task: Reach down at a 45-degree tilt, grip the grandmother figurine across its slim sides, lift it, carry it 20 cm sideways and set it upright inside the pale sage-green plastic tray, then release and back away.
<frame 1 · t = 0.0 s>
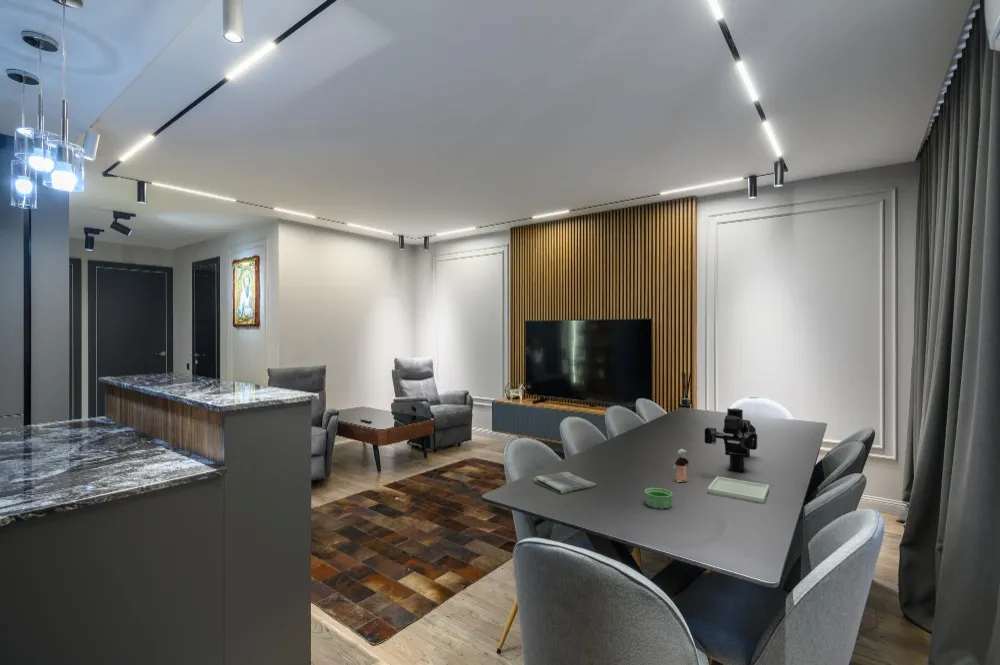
hand: (726, 442, 183), 17 cm above the table, tool horizontal, fingers open, 9 cm apart
dish towel: (563, 485, 183), on the table
grandmother figurine: (681, 481, 187), on the table
ramekin: (658, 505, 162), on the table
sage tray: (738, 491, 176), on the table
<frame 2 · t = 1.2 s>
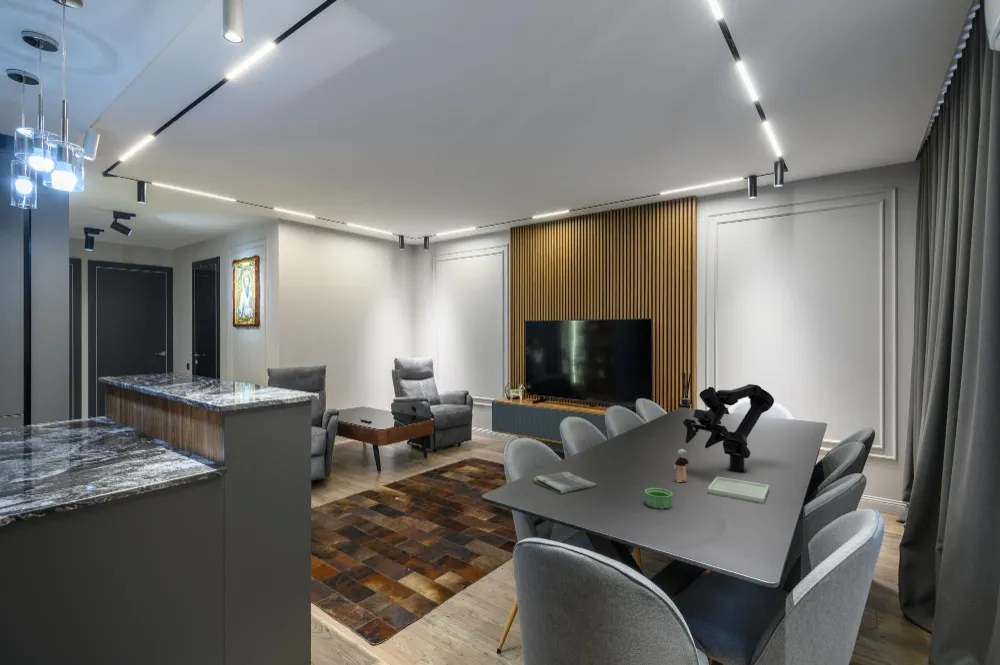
hand: (695, 445, 191), 13 cm above the table, tool tilted 45°, fingers open, 9 cm apart
nothing on the table moved.
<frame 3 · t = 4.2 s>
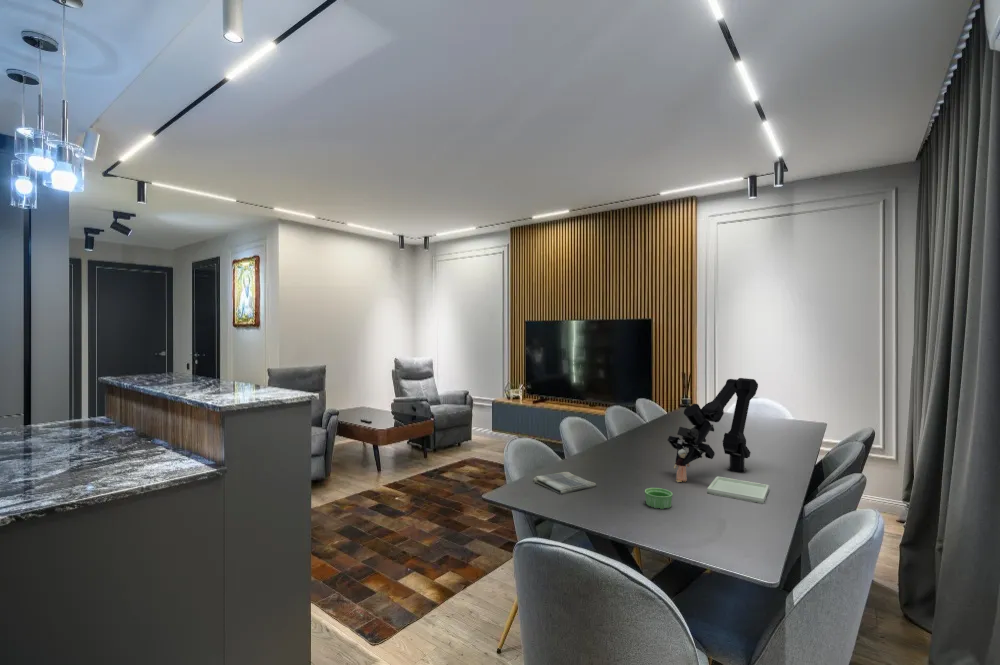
hand: (679, 463, 187), 7 cm above the table, tool tilted 45°, fingers closed on grandmother figurine, 3 cm apart
grandmother figurine: (681, 481, 187), on the table, touching gripper
everything else where it was.
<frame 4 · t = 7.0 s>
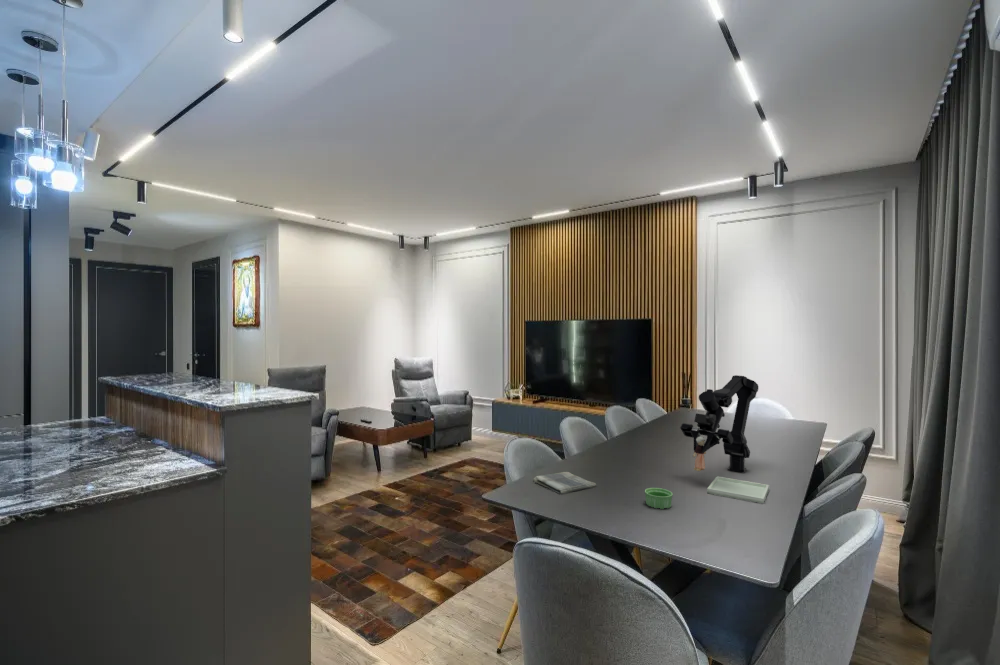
hand: (698, 451, 182), 13 cm above the table, tool tilted 45°, fingers closed on grandmother figurine, 3 cm apart
grandmother figurine: (699, 469, 183), point 6 cm above the table, touching gripper
everything else where it was.
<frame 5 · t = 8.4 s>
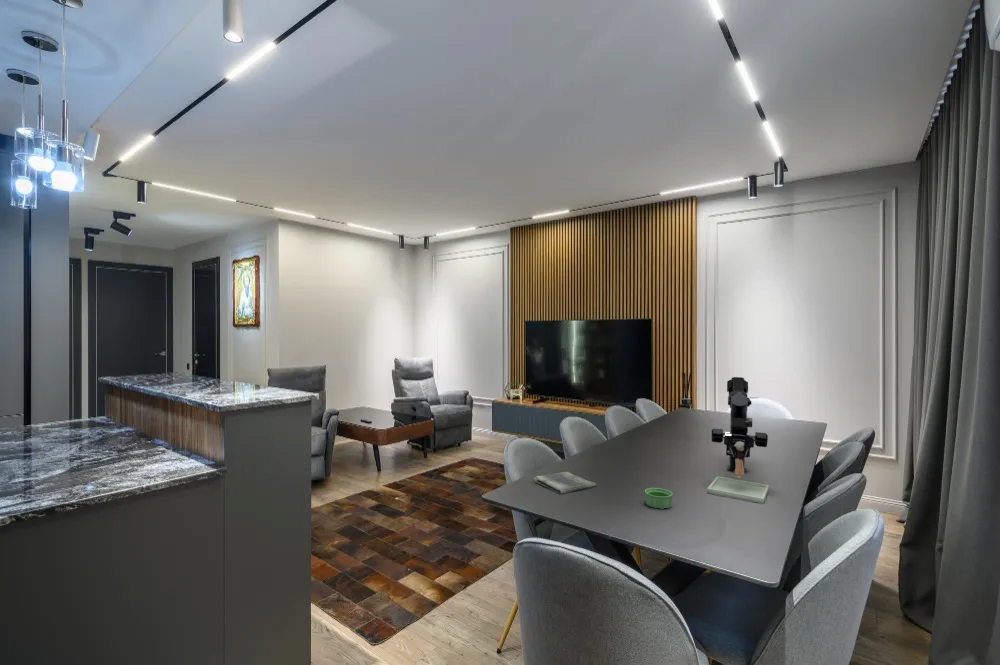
hand: (739, 457, 175), 13 cm above the table, tool tilted 45°, fingers closed on grandmother figurine, 3 cm apart
grandmother figurine: (738, 476, 176), point 6 cm above the table, touching gripper
everything else where it was.
when the fingers open (9 cm above the table, at t = 9.8 s): grandmother figurine stays where it is, resting on sage tray.
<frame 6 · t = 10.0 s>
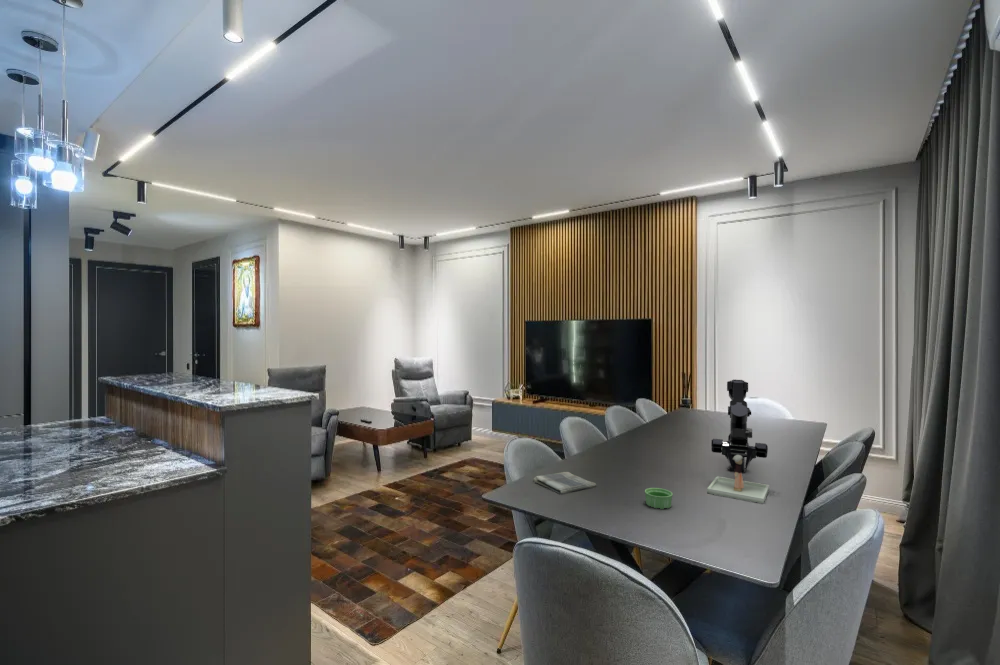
hand: (738, 468, 175), 9 cm above the table, tool tilted 45°, fingers open, 4 cm apart
grandmother figurine: (738, 489, 176), point 1 cm above the table, touching sage tray
everything else where it was.
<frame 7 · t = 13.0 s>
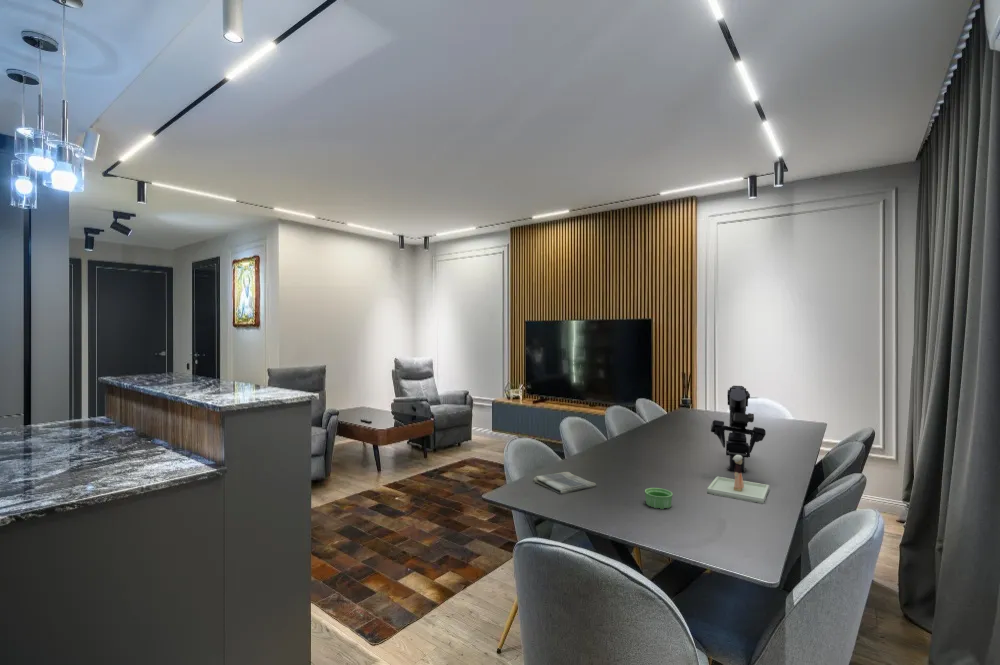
hand: (737, 449, 184), 13 cm above the table, tool tilted 40°, fingers open, 9 cm apart
nothing on the table moved.
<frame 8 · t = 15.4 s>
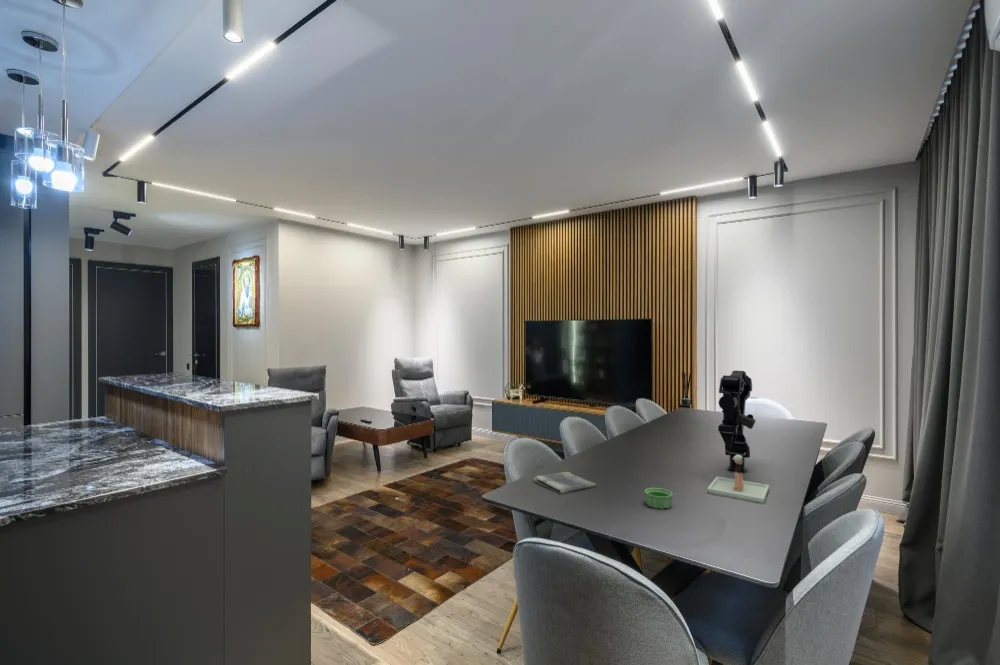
hand: (730, 446, 190), 13 cm above the table, tool pointing down, fingers open, 9 cm apart
nothing on the table moved.
at the end: grandmother figurine inside the target area on the sage tray (0.3 cm from its centre), point 0.6 cm above the sage tray's base; grandmother figurine tilted 0°; the gripper is holding nothing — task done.
